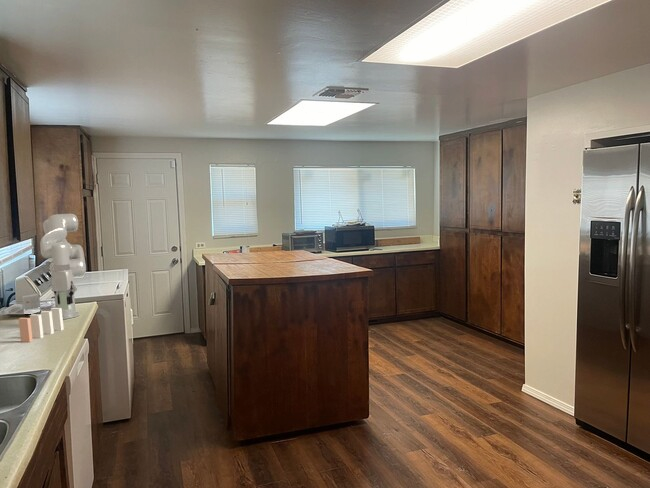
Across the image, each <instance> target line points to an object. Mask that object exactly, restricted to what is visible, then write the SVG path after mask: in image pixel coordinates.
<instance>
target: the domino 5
mask: <svg viewBox="0 0 650 488" xmlns="http://www.w3.org/2000/svg"><path fill="white" fill-rule="evenodd" d="M69 293H70V292H69ZM59 297H60V308H62V310H69V309H71V304H69V305H68V304H67V297H68V296H67V293H66V291H59Z"/></svg>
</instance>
